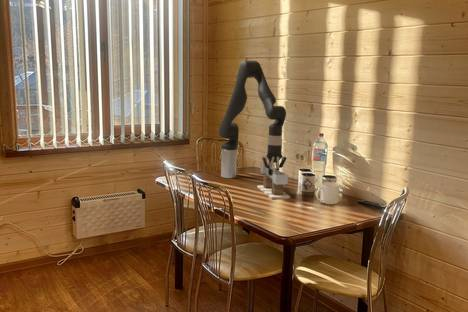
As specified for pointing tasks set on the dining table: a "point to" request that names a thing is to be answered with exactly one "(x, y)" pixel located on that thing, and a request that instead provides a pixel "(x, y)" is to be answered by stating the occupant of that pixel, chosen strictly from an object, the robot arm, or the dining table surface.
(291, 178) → the dining table surface
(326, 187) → the mug
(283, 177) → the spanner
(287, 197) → the peg rack
